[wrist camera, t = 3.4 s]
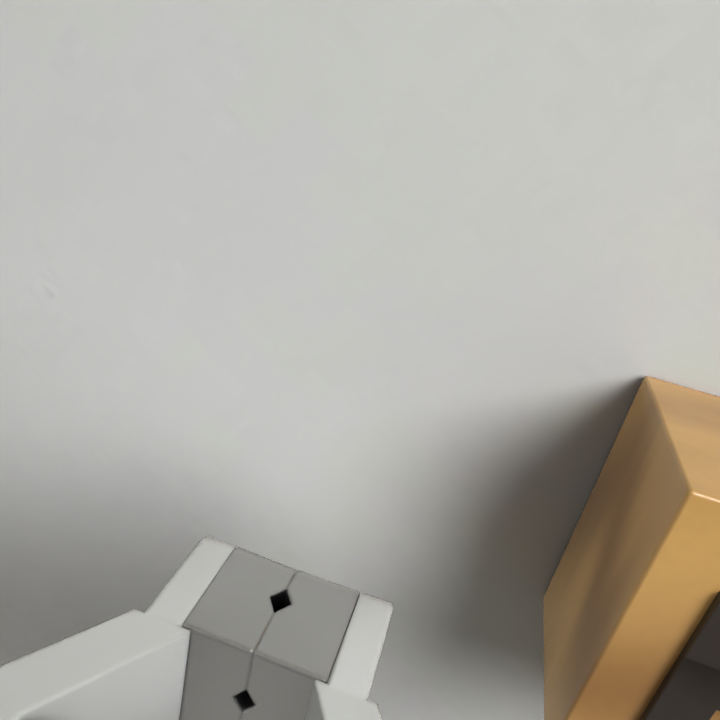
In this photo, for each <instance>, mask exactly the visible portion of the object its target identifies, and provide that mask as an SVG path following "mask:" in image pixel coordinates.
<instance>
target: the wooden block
mask: <svg viewBox="0 0 720 720" xmlns="http://www.w3.org/2000/svg"><path fill="white" fill-rule="evenodd" d="M543 604H544V720H720V397H718V396H715V395H711V394H708V393H704V392H701V391H697V390H694V389H690V388H687V387H683V386H680V385H677V384H673V383H670V382H666V381H663V380H659V379H656V378H652V377H649V376H646V377H645V378H644V379H643V381H642V383H641V385H640V387H639V390H638V392H637V394H636V396H635V398H634V401H633V403H632V405H631V407H630V409H629V412H628V414H627V416H626V418H625V420H624V422H623V425H622V427H621V429H620V431H619V433H618V436H617V438H616V440H615V442H614V444H613V447H612V449H611V451H610V453H609V455H608V457H607V460H606V462H605V464H604V466H603V468H602V471H601V473H600V475H599V477H598V479H597V481H596V484H595V486H594V488H593V490H592V492H591V495H590V497H589V499H588V501H587V503H586V506H585V508H584V510H583V512H582V514H581V516H580V519H579V521H578V523H577V525H576V527H575V530H574V532H573V534H572V536H571V538H570V540H569V543H568V545H567V547H566V549H565V551H564V554H563V556H562V558H561V560H560V562H559V565H558V567H557V569H556V571H555V573H554V575H553V578H552V580H551V582H550V584H549V586H548V589H547V591H546V593H545V595H544V597H543Z"/></svg>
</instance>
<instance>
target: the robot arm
mask: <svg viewBox="0 0 720 720" xmlns="http://www.w3.org/2000/svg"><path fill="white" fill-rule="evenodd" d="M392 612H393V603H390V602H387V601H384V600H381V599H378V598H376V597H373V596H370V595H367V594H364V593H361V594H360V592H358V591H356V590H353V589H350V588H347V587H344V586H341V585H339V584H336V583H333V582H330V581H327V580H324V579H322V578H319V577H316V576H313V575H310V574H308V573H305V572H302V571H297V570H295V569H292V568H290V567H287V566H285V565H282V564H280V563H277V562H275V561H272V560H270V559H267V558H265V557H262V556H259V555H257V554H254V553H252V552H249V551H247V550H244V549H242V548H239V547H238V548H237V547H235V546H232V545H230V544H227V543H225V542H222V541H220V540H217V539H215V538H212V537H210V536H207V537H206V538H204V539H202V540H201V541H199V543H198V544H197V545H196V546H195V548H194V549H193V550H192V552H191V553H190V554H189V555H188V557H187V558H186V559H185V561H184V562H183V563H182V564H181V566H180V567H179V568H178V570H177V571H176V572H175V573H174V575H173V576H172V577H171V579H170V580H169V581H168V582H167V584H166V585H165V586H164V588H163V589H162V590H161V591H160V593H159V594H158V595H157V597H156V598H155V599H154V600H153V602H152V603H151V604H150V606H149V607H148V608H147V609H146V611H145V612H142V611H139V610H136V609H134V610H131V611H129V612H126V613H124V614H122V615H119V616H117V617H115V618H112V619H110V620H108V621H105V622H103V623H101V624H98V625H96V626H93V627H91V628H89V629H86V630H84V631H82V632H79V633H77V634H75V635H72V636H70V637H68V638H65V639H63V640H60V641H58V642H56V643H53V644H51V645H49V646H46V647H44V648H42V649H39V650H37V651H35V652H32V653H30V654H27V655H25V656H23V657H20V658H18V659H16V660H13V661H11V662H9V663H6V664H4V665H2V666H0V720H383V719H382V716H381V713H380V710H379V707H378V704H376V703H373V702H371V701H369V700H368V696H369V693H370V689H371V686H372V682H373V679H374V675H375V672H376V668H377V664H378V661H379V657H380V654H381V650H382V647H383V643H384V640H385V636H386V633H387V629H388V626H389V622H390V619H391V615H392Z"/></svg>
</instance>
